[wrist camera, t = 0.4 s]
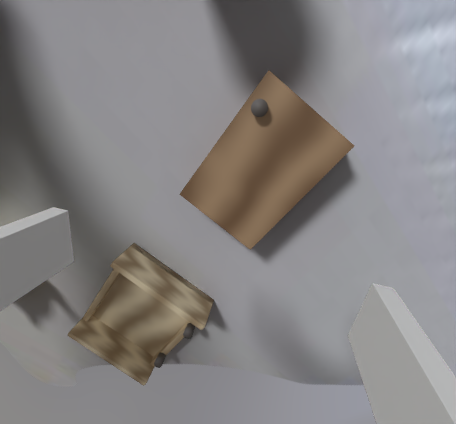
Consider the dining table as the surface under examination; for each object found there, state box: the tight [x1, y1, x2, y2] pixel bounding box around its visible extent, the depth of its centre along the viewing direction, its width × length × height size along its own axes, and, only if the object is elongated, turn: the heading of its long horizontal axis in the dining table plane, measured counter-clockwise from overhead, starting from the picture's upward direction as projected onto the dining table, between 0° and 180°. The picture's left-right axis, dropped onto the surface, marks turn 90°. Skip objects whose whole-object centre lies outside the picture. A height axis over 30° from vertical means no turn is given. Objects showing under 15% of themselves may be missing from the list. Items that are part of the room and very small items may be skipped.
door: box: [180, 70, 354, 250], centre depth 28 cm, size 11×16×6 cm
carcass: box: [68, 243, 214, 385], centre depth 40 cm, size 16×20×6 cm
